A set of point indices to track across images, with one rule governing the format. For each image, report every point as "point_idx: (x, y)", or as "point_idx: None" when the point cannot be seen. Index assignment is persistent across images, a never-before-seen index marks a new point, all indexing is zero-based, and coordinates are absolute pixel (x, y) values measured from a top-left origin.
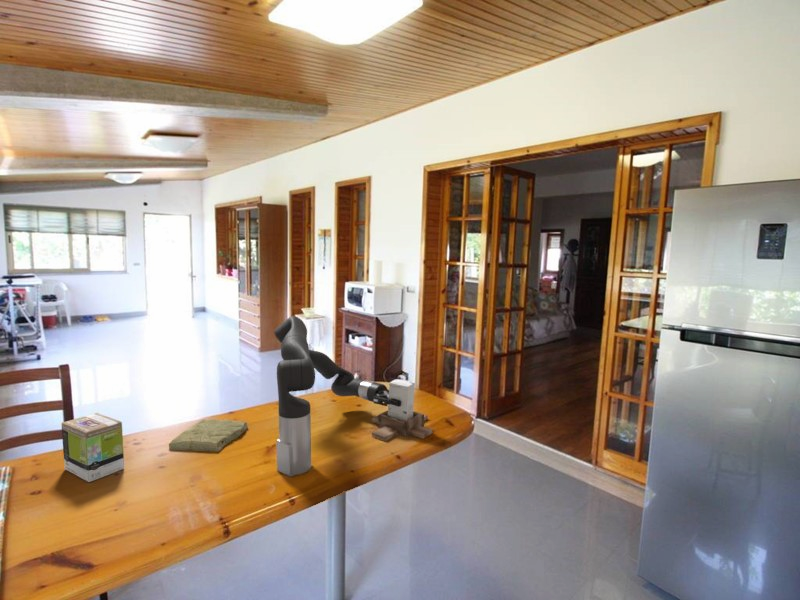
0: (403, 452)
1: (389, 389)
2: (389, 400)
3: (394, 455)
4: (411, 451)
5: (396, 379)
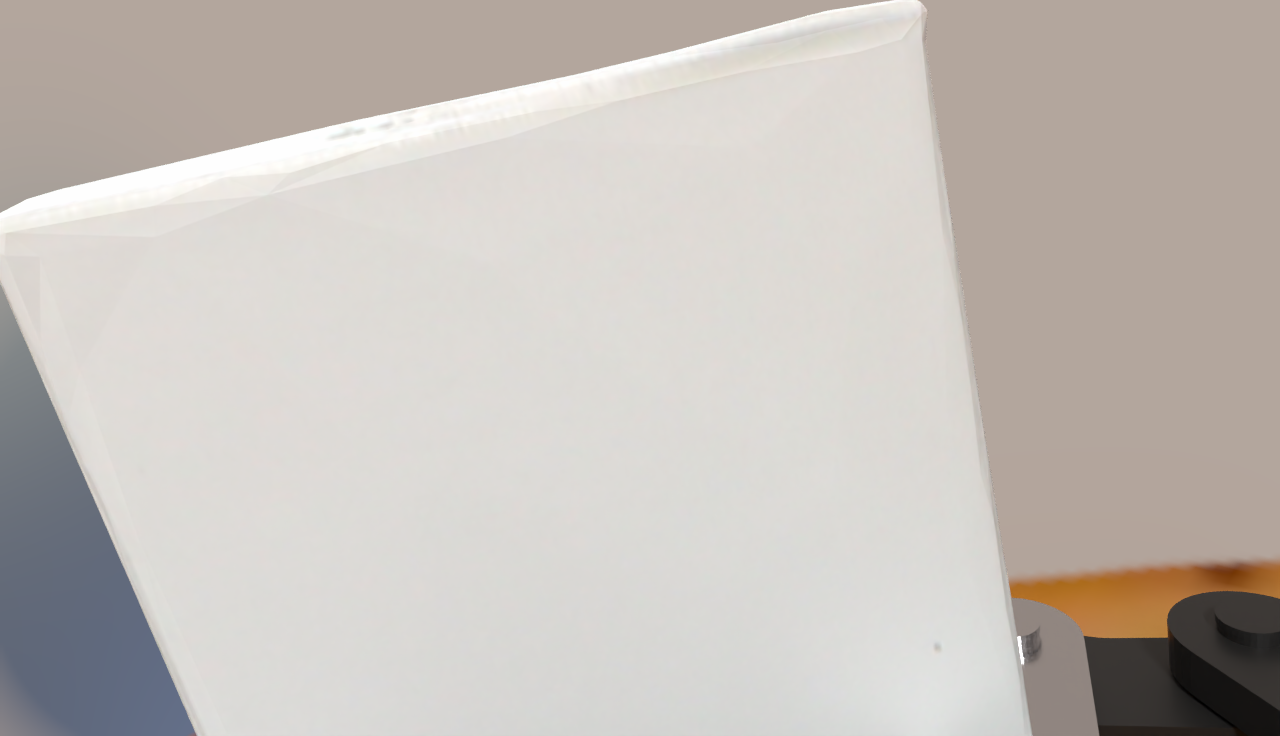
0: (1138, 596)
1: (965, 383)
2: (1087, 639)
3: (1267, 588)
4: (1044, 586)
5: (146, 175)
